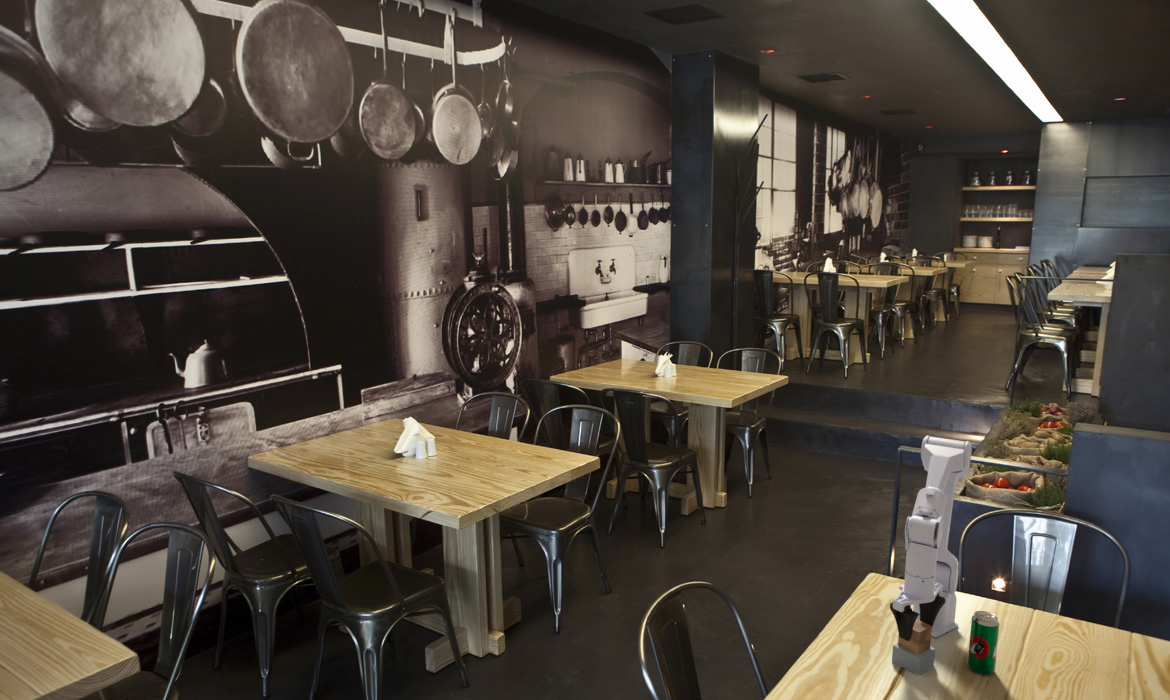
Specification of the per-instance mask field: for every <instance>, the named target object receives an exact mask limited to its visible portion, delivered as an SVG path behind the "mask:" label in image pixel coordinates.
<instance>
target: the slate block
mask: <svg viewBox="0 0 1170 700" xmlns="http://www.w3.org/2000/svg"><path fill="white" fill-rule="evenodd" d="M935 657H936V648H934V647H933V646H932V645H930V649H928V650H926V651H924V652H922V653H920V654H918V655H916V654H915V653H913V652H911V651H909V650H907V649H905V648H903V647H901V646H899V645H898V642H897V643H894V644H893V645H892V657H891V663H893V664H895V665H897V666H899V667H900V668H903V669H905V670H907V671H908V672H909V671H910V672H912V673H913V674H915V675H917V676H920V675H921V674H923V673H925V672H926V671H928V670H930V668H932V667H934V666H935Z"/></svg>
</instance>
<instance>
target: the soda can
mask: <svg viewBox="0 0 1170 700" xmlns="http://www.w3.org/2000/svg"><path fill="white" fill-rule="evenodd" d="M999 632H1000V622H999V618H998V616H997V615H996V614H994V613H992V612H989V611H985V610H977V611H976V610H975V611H974V613H973V615H972V617H971V623H970V634H969V635H970V636H969V645H968V655H967V666H968V667H969V669H970V670H971V671H973V673H976V674H979V675H982V676H990V675H992V674H994V673H995V671H996V664H997V663H996V662H997V654H998V644H999V643H998V641H999V634H1000V633H999Z"/></svg>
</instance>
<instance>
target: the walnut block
mask: <svg viewBox="0 0 1170 700" xmlns="http://www.w3.org/2000/svg"><path fill="white" fill-rule="evenodd" d="M931 632H932V626H930V625H928V624H926V623H924V622H922V621H920V620H918V619H916V621H915V623H914V626H913V631H912V636H911V639H910V640H909V641H906V640H904V639H902V638H900V637H899V636H898V639H897V640H898V641H897V643H898V645H899V646H901V647H903V648H905V649H907V650H909V651H911V652H913V653H915V654H916V655H918V654H920V653H922V652H924V651H926V650H928V649H930V646H931V644H932V642H931V641H932V636H931Z"/></svg>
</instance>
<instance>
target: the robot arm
mask: <svg viewBox="0 0 1170 700" xmlns="http://www.w3.org/2000/svg"><path fill="white" fill-rule="evenodd" d="M921 442H922V443H921V446H920V447H921V450H920V459H921V461H922V466H923V469H924V471H926V472H927V477H926V484H925V487H924V488H921V489H920V490H919V491H918V492H917V496H916V500H915V503H914V506H913V509H912V514H911V516H910V515H909V516H907V518H906V522H905V527H904V540H905V547H904V548H905V551H906V556H905V557H906V559H905V570H904V583H902V584H900V585H899V587H898V588H899V590H900V592H899V593H898V595H897V597H896V598H894V599H892V602H890V603H889V610H890V611H891V613H892V614H893V617H894V619H895V623H896V626H897V632H898V637H900V638H902V639H904V640H906V641H909V640H910V639H911V636H912V631H913V626H914V623H915V621H916V619H918V620H920V621H922V622H924V623H926V624H928V625H930V626H932V632H931V638H932V637H933V638H938V637H939V636H942V635H944V634H945V633H948V632H950V631H952V630H954V629H956V628H957V627H959V623H958V622H957V623H956V611H957V610H956V609H957V596H956V591H957V587H958V583H959V582H958V581H959V566H960V565H959V564H960V563H959V560H958V558H957V557H956V556H955V555H954V554H953V553H951V552H950V551H949V549H948V545H949V538H950V536H949V535H950V530H951V529H950V528H951V523H952V514H953V506H954V498H955V491H956V486H957V484H958V482H959V479H964V478H967V477H968V474H969V471H970V468H971V467H970V465H971V459H972V452H973V450H972V449H973V447H972V446H973V445H972V444H971V442H970V441H969V440H966V441H964V440H957V439H950V438H943V437H936V436H935V437H934V436H930V435H925V436H924V438H922V441H921ZM937 561H938V562H937ZM941 562H942V563H941ZM944 563H945V564H944ZM911 606H913V607H911Z"/></svg>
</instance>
